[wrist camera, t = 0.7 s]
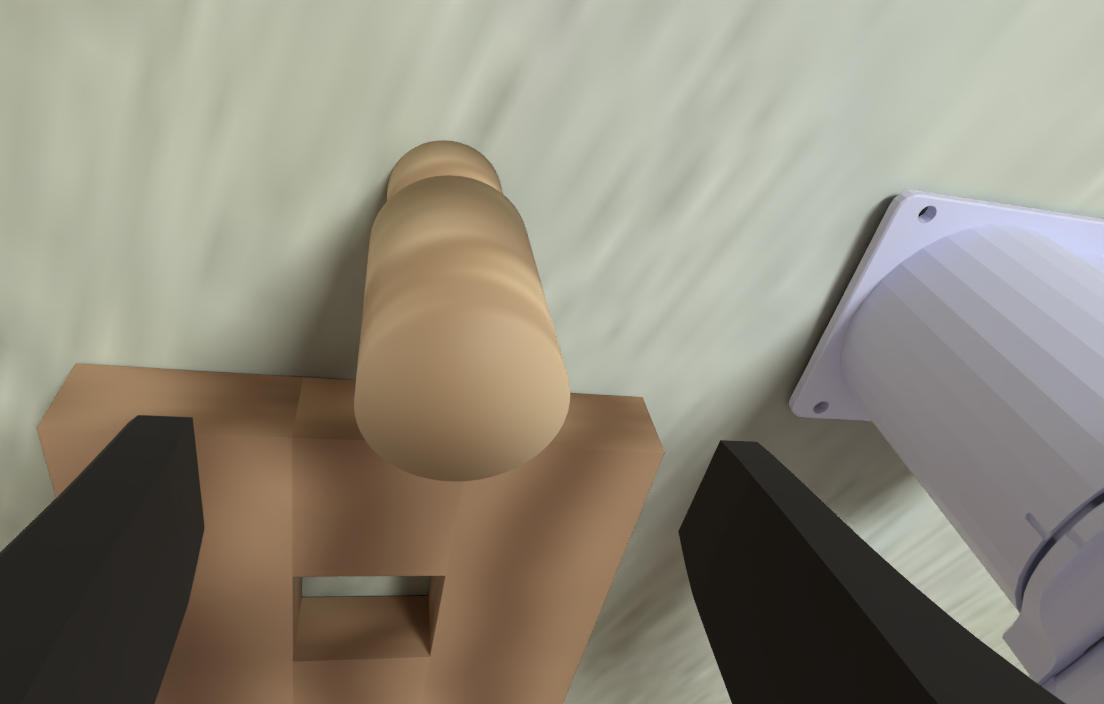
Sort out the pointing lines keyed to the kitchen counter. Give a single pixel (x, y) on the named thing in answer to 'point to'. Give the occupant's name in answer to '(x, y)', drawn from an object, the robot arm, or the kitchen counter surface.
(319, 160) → the kitchen counter surface
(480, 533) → the board
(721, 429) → the kitchen counter surface
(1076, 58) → the kitchen counter surface
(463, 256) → the peg
